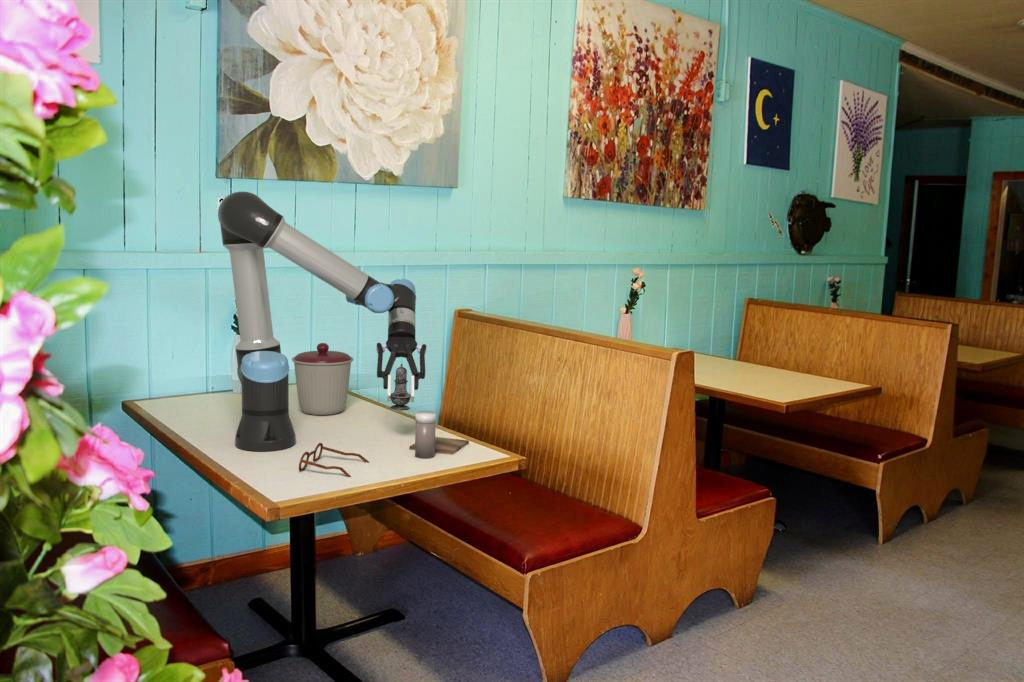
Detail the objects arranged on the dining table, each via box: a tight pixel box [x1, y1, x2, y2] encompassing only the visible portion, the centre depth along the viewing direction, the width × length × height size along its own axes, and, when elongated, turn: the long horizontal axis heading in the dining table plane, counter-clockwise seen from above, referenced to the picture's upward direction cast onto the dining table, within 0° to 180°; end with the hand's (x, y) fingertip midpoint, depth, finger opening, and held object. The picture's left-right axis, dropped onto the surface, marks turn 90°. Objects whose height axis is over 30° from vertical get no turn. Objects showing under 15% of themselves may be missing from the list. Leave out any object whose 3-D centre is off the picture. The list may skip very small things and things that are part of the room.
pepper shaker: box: [414, 410, 437, 460], centre depth 223 cm, size 5×5×11 cm
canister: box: [291, 342, 354, 416], centre depth 267 cm, size 18×18×21 cm
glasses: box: [298, 442, 370, 478], centre depth 211 cm, size 13×13×5 cm
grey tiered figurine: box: [389, 363, 411, 411], centre depth 234 cm, size 6×6×12 cm
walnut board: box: [408, 436, 470, 455], centre depth 233 cm, size 12×12×1 cm
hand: (400, 398), depth 231 cm, fingers closed on grey tiered figurine, 5 cm apart
